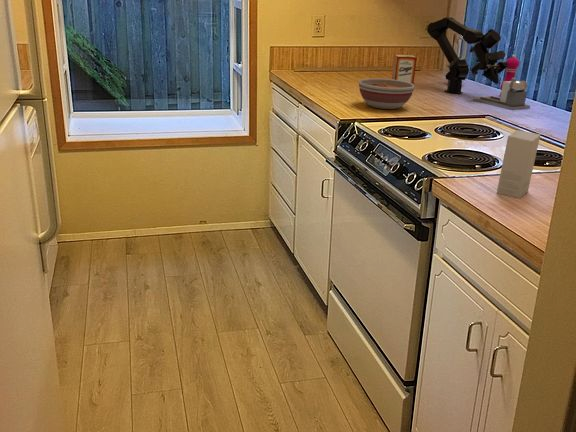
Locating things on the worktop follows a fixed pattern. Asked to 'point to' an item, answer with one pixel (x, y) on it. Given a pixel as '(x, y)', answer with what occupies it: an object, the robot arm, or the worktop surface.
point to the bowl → (385, 92)
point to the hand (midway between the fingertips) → (497, 83)
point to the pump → (505, 90)
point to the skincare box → (518, 163)
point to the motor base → (509, 97)
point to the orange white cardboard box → (404, 68)
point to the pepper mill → (510, 69)
